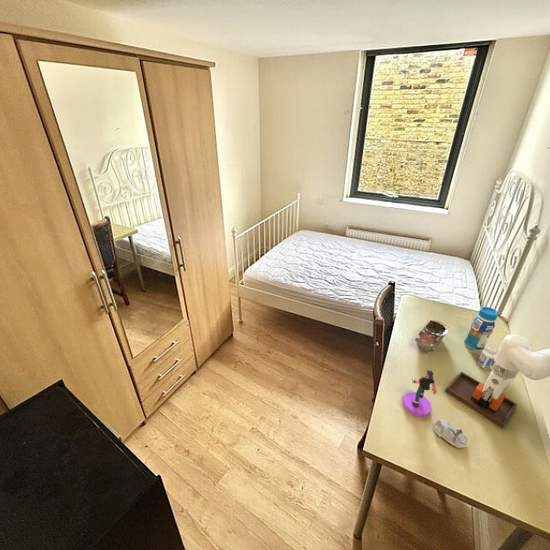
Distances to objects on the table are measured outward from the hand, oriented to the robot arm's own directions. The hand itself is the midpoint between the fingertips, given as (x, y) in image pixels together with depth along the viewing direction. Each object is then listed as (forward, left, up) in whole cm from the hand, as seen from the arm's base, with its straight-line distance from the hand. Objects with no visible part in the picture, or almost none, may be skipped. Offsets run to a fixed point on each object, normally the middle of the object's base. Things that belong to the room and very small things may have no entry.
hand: (485, 401), depth 109 cm
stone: (+2, +23, -1) cm, 23 cm away
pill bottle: (+7, -22, -1) cm, 23 cm away
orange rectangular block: (0, 0, 0) cm, 0 cm away
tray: (+2, -1, -1) cm, 2 cm away
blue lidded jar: (+15, -32, -1) cm, 35 cm away
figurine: (+15, +21, -1) cm, 26 cm away
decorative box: (+27, -15, -1) cm, 31 cm away
